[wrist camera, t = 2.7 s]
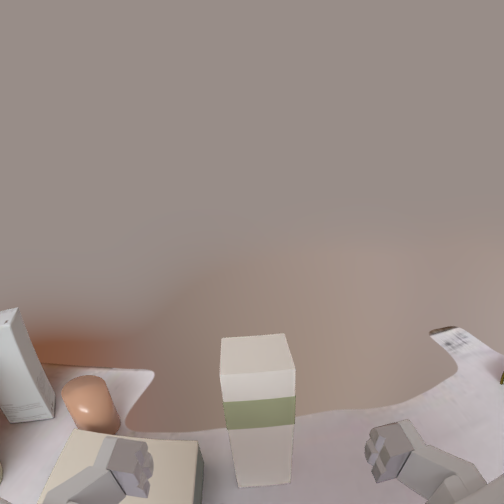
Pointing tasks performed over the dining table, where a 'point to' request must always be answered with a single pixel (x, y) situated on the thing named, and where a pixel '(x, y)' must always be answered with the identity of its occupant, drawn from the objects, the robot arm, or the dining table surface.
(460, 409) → the dining table surface
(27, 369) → the skincare box
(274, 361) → the carton
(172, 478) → the podium
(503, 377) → the hardcover book
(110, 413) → the peach cylinder
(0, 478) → the reusable coffee cup
